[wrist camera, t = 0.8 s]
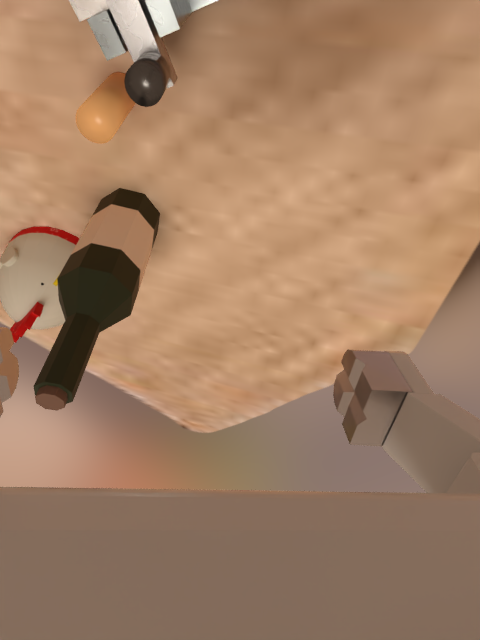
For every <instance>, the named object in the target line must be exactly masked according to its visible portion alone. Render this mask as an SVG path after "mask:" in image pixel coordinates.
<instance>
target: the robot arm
mask: <svg viewBox="0 0 480 640" xmlns="http://www.w3.org/2000/svg"><path fill="white" fill-rule="evenodd" d="M13 344H14V340H13V336H12V332H11V331H10V330H9V329H8V328H4V327H0V416H1V415H2V413H3V407H2V402H4V401H5V400H7V399H9V398H10V397H11V396H12V394H13V393H14V390H15V389H16V385H17V381H18V377H19V365H18V360H17V358H16V357H15V356H14V355H13V354H12V353H11V352H10V351H9V350H10V349H11V347H12V345H13ZM342 365H343V367H344V370H343V371H342V372H340V373H339V374H338V375H337V376H336V380H335V383H334V394H333V396H334V403H335V406H336V409H337V411H338V412H339V413H341V414H342V415H343V416H344V420H343V423H342V425H343V428H344V430H345V433H346V436H347V438H348V441H349V444H350V445H367V446H383V447H382V448H383V449H384V450H385V451H386V452H387V453H388V454H389V455H390V456H391V457H392V458H393V459H394V460H395V461H396V462H397V463H398V464H399V465H400V466H401V467H402V468H403V469H404V470H405V471H406V472H407V473H408V474H409V475H410V476H411V477H412V478H413V479H414V480H415V481H416V482H417V483H418V484H419V485H420V486H421V487H422V488H423V489H424V490H425V491H426V492H427V493H384V492H381V493H380V492H316V491H311V492H310V491H254V490H253V491H252V490H251V491H250V490H185V489H182V490H181V489H180V490H179V489H111V488H108V489H107V488H37V487H0V640H480V419H479V418H477V417H475V416H474V415H472V414H471V413H469V412H468V411H466V410H464V409H463V408H461V407H460V406H458V405H457V404H455V403H453V402H452V401H450V400H449V399H447V398H445V397H444V396H442V395H441V394H434V393H433V391H432V390H431V389H430V387H429V385H428V384H427V382H426V381H425V379H424V378H423V376H422V375H421V373H420V372H419V370H418V369H417V367H416V366H415V364H414V363H413V362H412V360H411V359H410V357H409V356H408V354H406V353H405V352H400V351H384V352H383V351H365V350H347V351H346V352H345V354H344V356H343V359H342Z"/></svg>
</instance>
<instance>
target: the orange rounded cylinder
mask: <svg viewBox="0 0 480 640" xmlns="http://www.w3.org/2000/svg"><path fill="white" fill-rule="evenodd" d="M125 75H126V74H124V73H121V72H116V73H113V74H111V75H110V76H109V77H108V78H107V79H106V80H105V81H104V82H103V83H102V84H101V85H100V86H99V87H98V88H97V89H96V90H95V91H94V92H93V94H92V95H91V96H90V97H89V98H88V99H87V100H86V101H85V102H84V103H83V104H82V105H81V106H80V107H79V109H78V110H77V113H76V124H77V127H78V129H79V131H80V132H81V133H82V135H83V136H84V137H86V138H87V139H88V140H90V141H92V142H95V143H106V142H108V141H110V140H111V139H112V138H113V136H114V135H115V133H116V132H117V130H118V129H119V127H120V126H121V124H122V123H123V121H124V120H125V118H126V117H127V115H128V114H129V112H130V111H131V109H132V108H133V106H134V105H135V102H134V101H133V100H132V99H131V98H130V97H129V95H128V94H127V91H126V89H125V83H124V80H125Z"/></svg>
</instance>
